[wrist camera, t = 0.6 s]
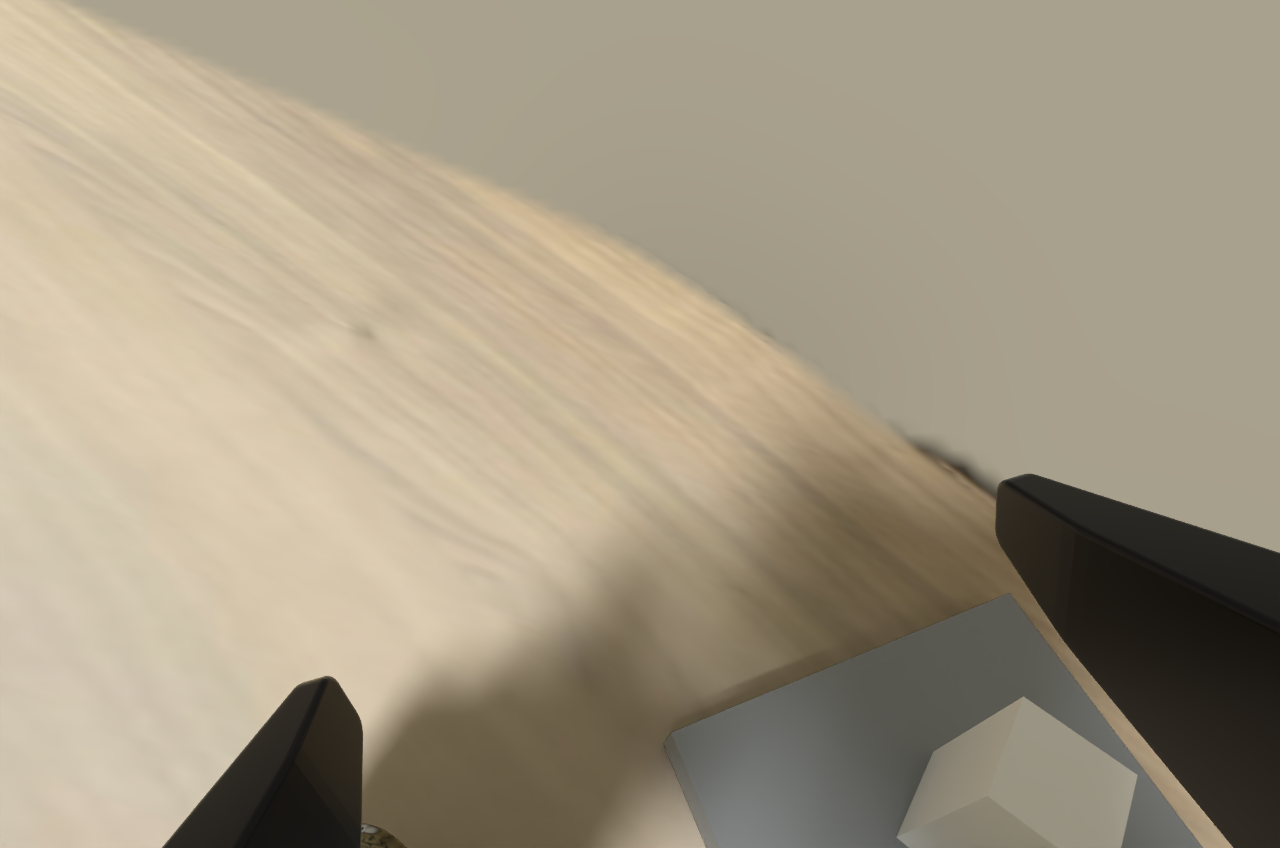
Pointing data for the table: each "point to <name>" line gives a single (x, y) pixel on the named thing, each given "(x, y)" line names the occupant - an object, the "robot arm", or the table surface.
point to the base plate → (925, 753)
